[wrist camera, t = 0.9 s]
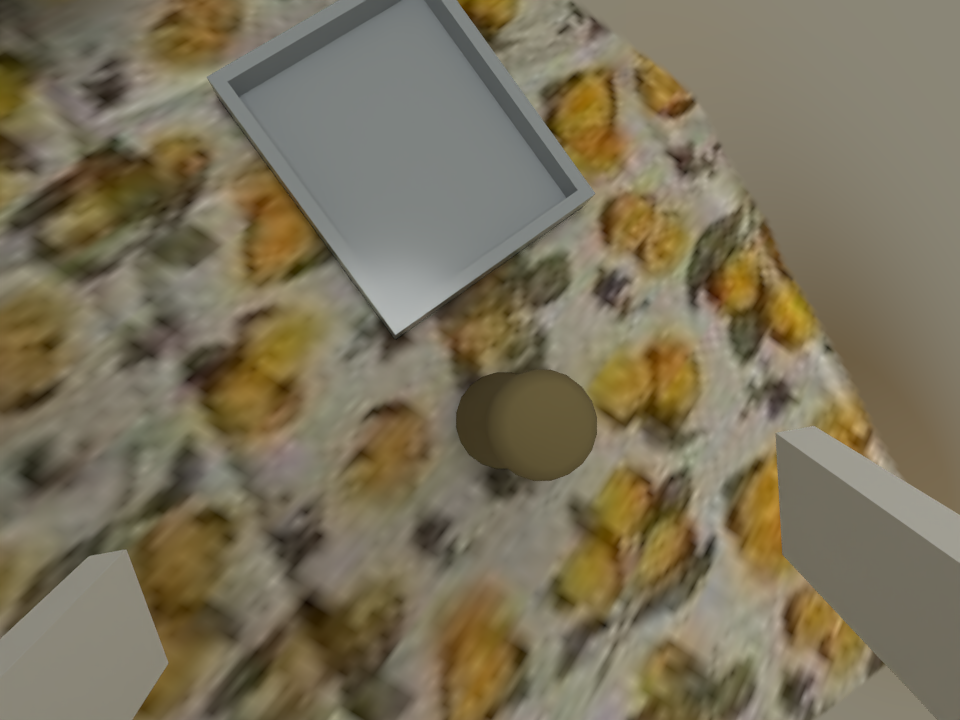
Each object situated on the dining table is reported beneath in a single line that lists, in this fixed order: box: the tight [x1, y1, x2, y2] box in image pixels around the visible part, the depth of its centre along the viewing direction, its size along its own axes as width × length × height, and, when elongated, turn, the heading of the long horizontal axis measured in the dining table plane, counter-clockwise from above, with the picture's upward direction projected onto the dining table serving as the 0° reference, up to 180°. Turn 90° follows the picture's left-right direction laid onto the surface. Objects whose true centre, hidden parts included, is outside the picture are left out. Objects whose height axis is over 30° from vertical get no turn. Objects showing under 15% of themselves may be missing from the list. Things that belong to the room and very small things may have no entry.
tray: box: [207, 0, 595, 340], centre depth 36 cm, size 18×15×2 cm
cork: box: [456, 370, 597, 481], centre depth 32 cm, size 6×6×11 cm
